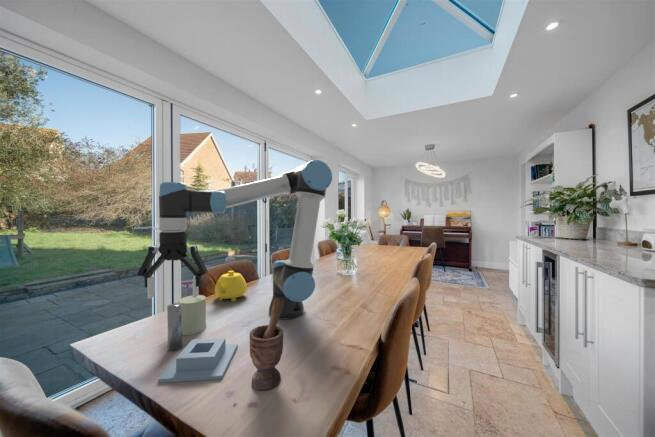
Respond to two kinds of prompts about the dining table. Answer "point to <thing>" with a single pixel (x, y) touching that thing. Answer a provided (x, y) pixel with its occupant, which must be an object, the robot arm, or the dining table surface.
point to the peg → (174, 326)
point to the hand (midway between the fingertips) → (173, 296)
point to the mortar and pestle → (267, 350)
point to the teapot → (230, 286)
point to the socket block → (200, 361)
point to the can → (193, 314)
